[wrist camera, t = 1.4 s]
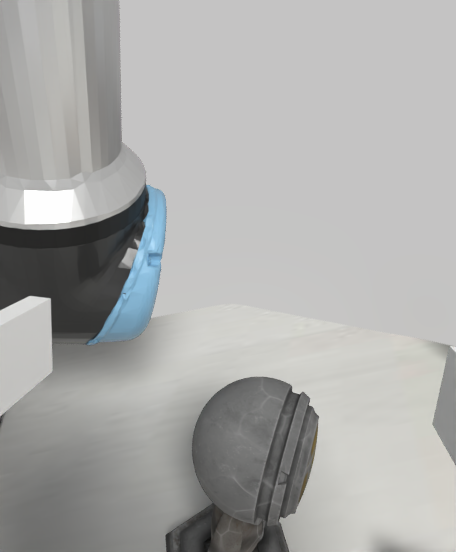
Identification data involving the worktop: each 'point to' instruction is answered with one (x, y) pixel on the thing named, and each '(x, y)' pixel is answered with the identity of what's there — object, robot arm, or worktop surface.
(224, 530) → the figurine
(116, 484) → the worktop surface
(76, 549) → the worktop surface
